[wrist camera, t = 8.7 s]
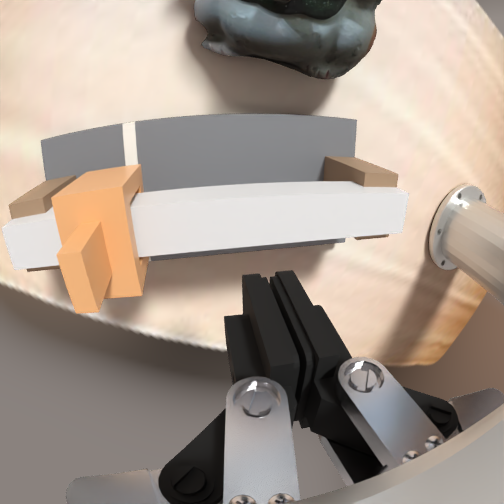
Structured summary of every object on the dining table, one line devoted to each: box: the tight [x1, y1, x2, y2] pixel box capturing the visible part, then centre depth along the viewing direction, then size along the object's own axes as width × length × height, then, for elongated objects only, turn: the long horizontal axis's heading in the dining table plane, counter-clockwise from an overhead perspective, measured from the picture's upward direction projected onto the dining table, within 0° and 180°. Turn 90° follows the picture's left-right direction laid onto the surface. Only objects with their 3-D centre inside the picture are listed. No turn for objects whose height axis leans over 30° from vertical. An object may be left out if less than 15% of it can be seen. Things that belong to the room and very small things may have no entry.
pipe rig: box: [2, 114, 409, 272], centre depth 20 cm, size 27×12×10 cm, turn 90°
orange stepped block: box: [51, 164, 149, 313], centre depth 15 cm, size 4×6×10 cm, turn 0°
